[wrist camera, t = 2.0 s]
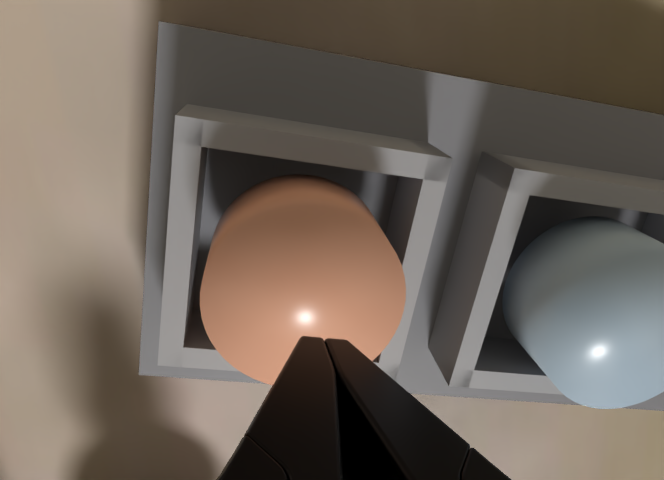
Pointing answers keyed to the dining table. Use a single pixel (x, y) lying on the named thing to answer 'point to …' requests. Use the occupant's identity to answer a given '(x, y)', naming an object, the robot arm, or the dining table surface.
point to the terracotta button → (298, 275)
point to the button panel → (384, 193)
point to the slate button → (592, 310)
